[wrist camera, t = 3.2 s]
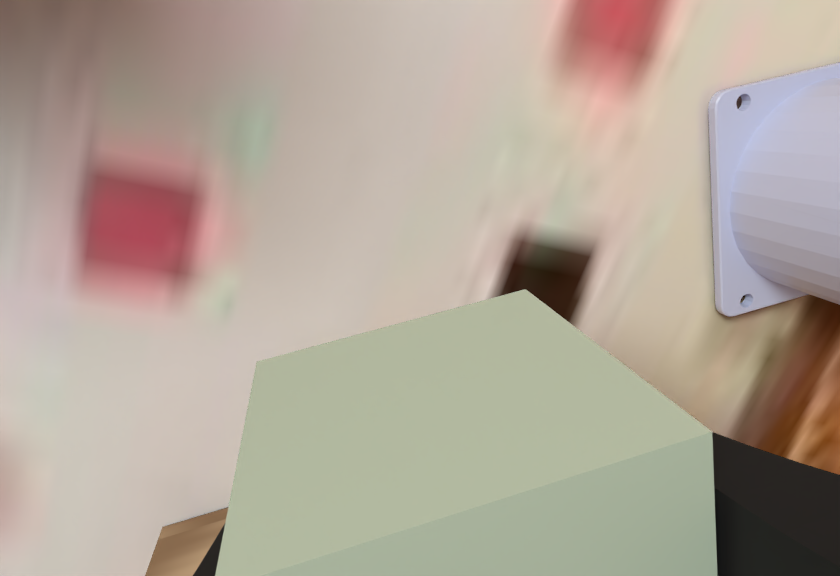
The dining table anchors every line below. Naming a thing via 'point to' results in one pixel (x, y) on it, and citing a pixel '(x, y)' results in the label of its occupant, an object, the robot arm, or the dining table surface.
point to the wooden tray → (185, 544)
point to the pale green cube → (468, 457)
